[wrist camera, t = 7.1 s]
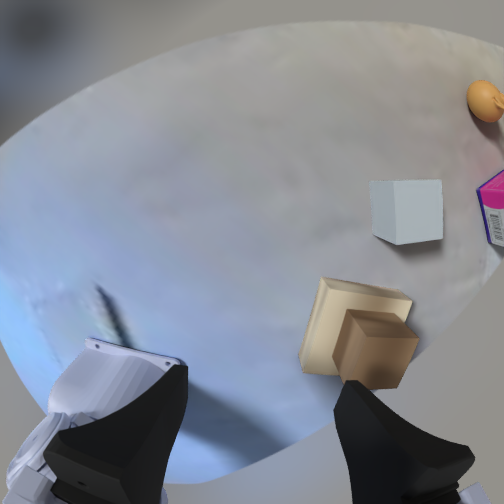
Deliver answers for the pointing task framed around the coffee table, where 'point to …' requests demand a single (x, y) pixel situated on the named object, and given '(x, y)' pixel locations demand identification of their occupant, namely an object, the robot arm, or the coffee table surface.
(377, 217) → the grey cube
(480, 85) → the figurine
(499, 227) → the supplement box
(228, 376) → the coffee table surface
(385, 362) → the walnut cube
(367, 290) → the beech slab
